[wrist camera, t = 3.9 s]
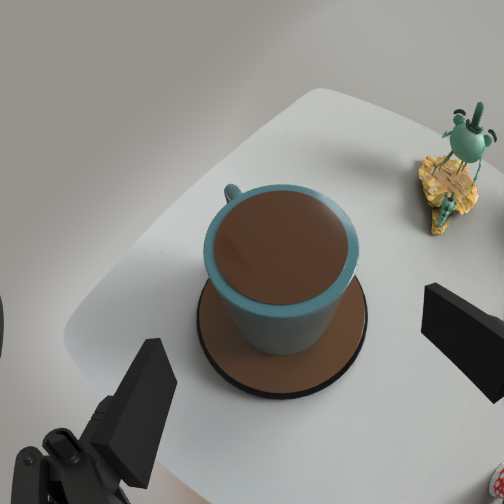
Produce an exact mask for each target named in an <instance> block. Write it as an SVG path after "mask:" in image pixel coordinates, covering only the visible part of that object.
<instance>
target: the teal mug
mask: <svg viewBox="0 0 504 504" xmlns="http://www.w3.org/2000/svg"><path fill="white" fill-rule="evenodd" d="M224 193H225V197H226V201H227V204H226V205H225V206H224V207H223V208H222V209H221V210H220V211H219V212H218V213H217V215H216V216H215V218H214V219H213V221H212V222H211V224H210V226H209V228H208V231H207V234H206V237H205V242H204V251H203V255H204V263H205V267H206V271H207V273H208V276H209V280H208V282H207V284H206V287H205V289H204V292H203V295H202V298H201V303H200V311H199V321H200V329H201V333H202V337H203V340H204V343H205V345H206V348H207V350H208V351H209V353H210V355H211V357H212V358H213V359H214V361H215V362H216V363H217V364H218V366H219V367H220V368H221V369H222V370H223V371H224V372H225V373H226V374H228V375H229V376H230V377H232V378H233V379H235V380H236V381H238V382H240V383H242V384H244V385H246V386H248V387H250V388H253V389H256V390H259V391H264V392H269V393H294V392H299V391H303V390H307V389H310V388H312V387H315V386H317V385H319V384H321V383H323V382H325V381H326V380H328V379H330V378H331V377H332V376H334V375H335V374H336V373H338V372H339V371H340V370H341V369H342V368H343V367H344V366H345V365H346V364H347V362H348V361H349V360H350V358H351V357H352V356H353V354H354V352H355V350H356V348H357V347H358V345H359V342H360V339H361V337H362V333H363V329H364V323H365V304H364V299H363V294H362V291H361V289H360V286H359V284H358V282H357V280H356V278H355V276H354V274H355V271H356V268H357V265H358V259H359V243H358V238H357V234H356V231H355V229H354V226H353V224H352V222H351V221H350V219H349V217H348V216H347V214H346V213H345V212H344V211H343V210H342V209H341V208H340V207H339V206H338V205H337V204H336V203H335V202H334V201H332V200H331V199H330V198H328V197H326V196H325V195H323V194H321V193H319V192H317V191H314V190H311V189H308V188H305V187H301V186H296V185H269V186H263V187H259V188H256V189H252V190H250V191H247V192H245V193H242V192H241V190H240V189H239V188H238V187H237V186H236V185H234V184H229V185H227V186H226V187H225V189H224Z"/></svg>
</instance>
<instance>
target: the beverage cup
mask: <svg viewBox="0 0 504 504" xmlns="http://www.w3.org/2000/svg"><path fill="white" fill-rule="evenodd" d="M489 493H490V495H492V496H495V497H498V498H501V499H503V498H504V462H503V463H501V464H500V466H499V467H498V468H497V469H496V471H495V473H494V474H493V476H492V478H491V481H490V484H489Z"/></svg>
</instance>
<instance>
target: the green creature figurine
mask: <svg viewBox="0 0 504 504" xmlns="http://www.w3.org/2000/svg"><path fill="white" fill-rule="evenodd" d="M483 110H484V105H483V103H482V102H478V103H477V106H476V109H475V112H474V115H473V119H472V122H471V121H469V119H467V120H466V123H464V120H465V118H464V117H463V116H462V115H459V114H458V115H456V116H455V117H454V119H453V121H454V123H455V125H456V126H455V127H454V128H453V130H452V131H450V132H448V133H447V131H446V132H445V133H444V134H443V136H442V138H444V137H446V136H448V135H451V136H450V144H451V148H452V151H451V152H450V153H449V155H448V156H444V157H442V158H441V157H438V158H435V157H433V158H431V157H428V156H427V157H426V159H423V163H422V166H421V167H420V169H419V170H418V174H419V178H420V179H421V180H423V182H422V181H421V182H422V183H423V184H422V185H423V189H424V191H423V192H424V193H425V196H426V197H427V199H428V201H429V203H428V205H430V206H431V207H435V206H436V207H439V206H440V205H442V206H441V208H440V209H439V210H436V209H437V208H435V209H431V210H432V211H433V213H432V215H433V216H432V218H433V219H432V224H431V225H432V226H431V227H432V229H431V231H432V234H433V235H435V234H436V235H437V234H438V235H439V234H442V233H444V232H445V229H446V227H448V226H450V224H451V223H449V219H448V217H449V214H451V211H452V210H456V211H459V213H460V214H461V215H463V213H468V212H469V211H470V210H471V209H472V208H473V207H474V204H475V203H476V202H477V200H478V198H479V195H478V193H477V192H476V191H477V190H478V188H477V185H476V184H475V181H476V180H477V175H478V172H479V170H480V167H481V160H482V155H483V153H484V150H485V147H487V146H490V144H491V142H492V139H491V137H490V136H488V135H484V136H483V134H482V131H483V128H482V127H481V128H479V122H480V119H481V116H482V113H483ZM457 113H461V114H463V115H464V116H465V114H466V113H465V111H464V110H462V109H457V110H455V111H454V114H457ZM488 132H489V133H491V134H492V136H493V137H494V141H495V142H496V141H497V137H496V134H495V132H494V131H493V130H491V129H489V131H488ZM446 134H447V135H446ZM453 153H454V154H455V155H456V156H457V157H458V158H459V159H460V160H462V162H460V161H458V162H457V160H450V159H449V158H450V157H451V156H452V154H453ZM479 159H480V164H479V168H478V171H477V174H476V176H475V178H474V180H473V178H471V177H470V176H469V174H467V173H468V168H467V166H466V164H467V163H474V162H476V161H478V160H479ZM463 162H466V163H465V165H463ZM452 213H453V211H452Z"/></svg>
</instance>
